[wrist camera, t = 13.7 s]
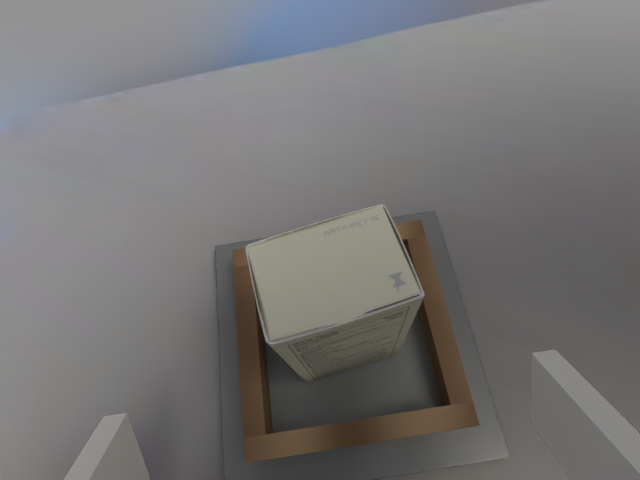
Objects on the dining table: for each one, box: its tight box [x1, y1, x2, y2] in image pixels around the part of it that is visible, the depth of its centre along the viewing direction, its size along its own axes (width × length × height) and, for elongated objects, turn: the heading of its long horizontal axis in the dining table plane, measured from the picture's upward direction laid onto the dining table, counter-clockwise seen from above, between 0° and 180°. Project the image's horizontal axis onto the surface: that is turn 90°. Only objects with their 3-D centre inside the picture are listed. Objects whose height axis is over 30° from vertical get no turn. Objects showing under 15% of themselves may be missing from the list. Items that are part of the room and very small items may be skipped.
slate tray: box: [215, 211, 510, 480], centre depth 28 cm, size 16×16×1 cm
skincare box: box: [245, 204, 425, 383], centre depth 22 cm, size 6×4×12 cm
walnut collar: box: [232, 220, 480, 463], centre depth 26 cm, size 12×12×2 cm
